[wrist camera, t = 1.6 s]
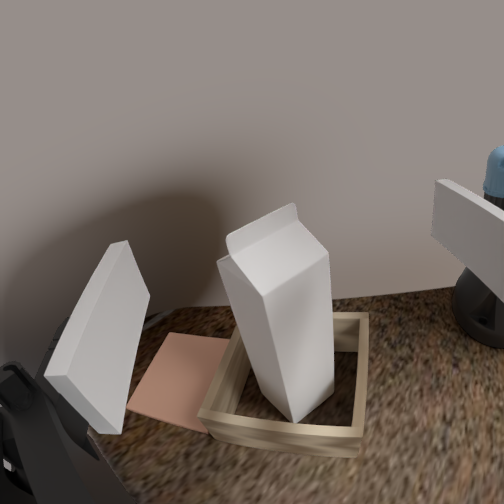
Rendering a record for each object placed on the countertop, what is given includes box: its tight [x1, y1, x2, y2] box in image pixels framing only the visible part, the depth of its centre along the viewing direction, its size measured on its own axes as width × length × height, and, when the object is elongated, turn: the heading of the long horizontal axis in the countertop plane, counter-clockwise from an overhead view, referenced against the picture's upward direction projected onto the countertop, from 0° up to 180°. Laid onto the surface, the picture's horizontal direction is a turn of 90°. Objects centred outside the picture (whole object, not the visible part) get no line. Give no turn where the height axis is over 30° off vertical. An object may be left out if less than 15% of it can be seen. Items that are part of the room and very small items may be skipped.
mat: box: [126, 332, 230, 434], centre depth 36 cm, size 12×14×1 cm
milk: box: [217, 203, 334, 423], centre depth 26 cm, size 6×6×22 cm
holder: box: [197, 312, 369, 458], centre depth 30 cm, size 15×15×6 cm
